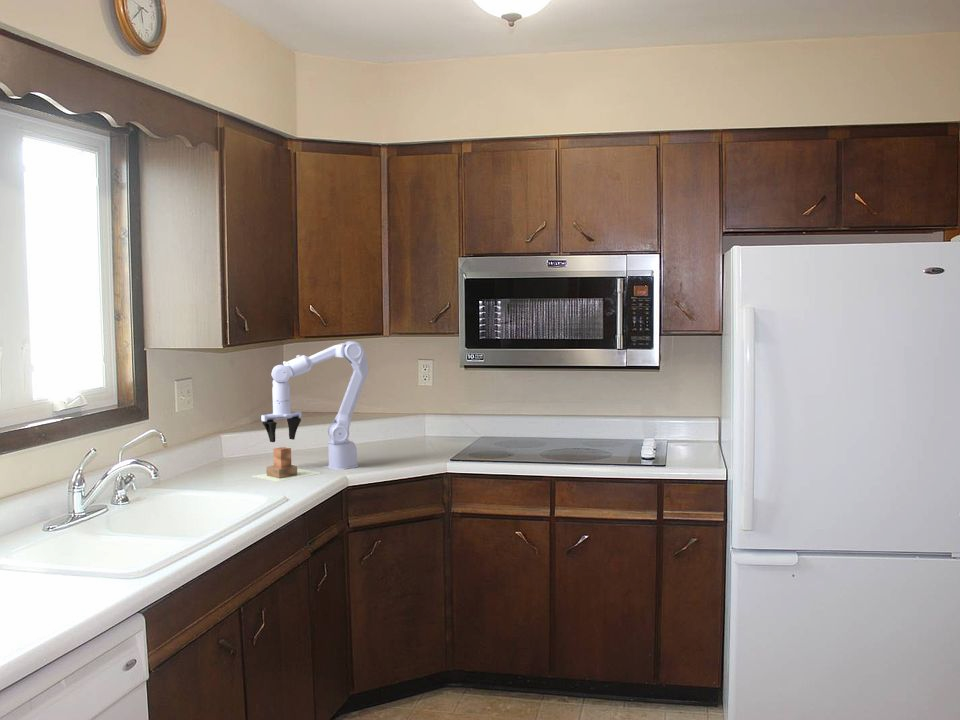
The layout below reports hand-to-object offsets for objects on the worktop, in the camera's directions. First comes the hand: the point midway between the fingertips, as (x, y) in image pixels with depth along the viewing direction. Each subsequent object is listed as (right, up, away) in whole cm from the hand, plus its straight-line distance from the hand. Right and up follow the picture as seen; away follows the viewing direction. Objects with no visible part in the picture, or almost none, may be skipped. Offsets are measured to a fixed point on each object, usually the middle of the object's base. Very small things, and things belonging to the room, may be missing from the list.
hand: (282, 440), depth 279 cm
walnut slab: (+2, -11, -9) cm, 14 cm away
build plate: (+3, -11, -8) cm, 14 cm away
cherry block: (+2, -8, -10) cm, 13 cm away
